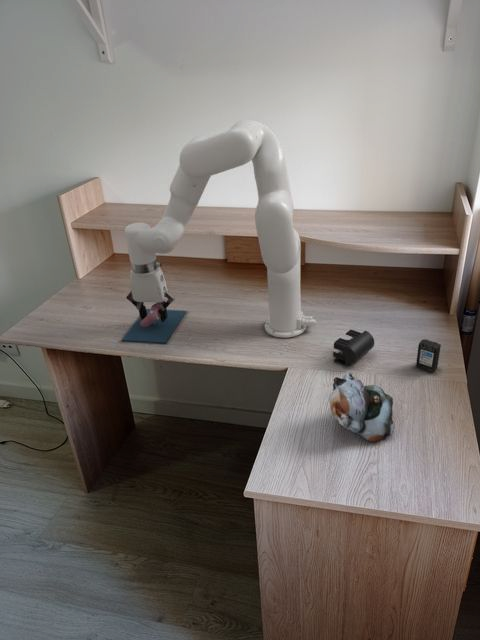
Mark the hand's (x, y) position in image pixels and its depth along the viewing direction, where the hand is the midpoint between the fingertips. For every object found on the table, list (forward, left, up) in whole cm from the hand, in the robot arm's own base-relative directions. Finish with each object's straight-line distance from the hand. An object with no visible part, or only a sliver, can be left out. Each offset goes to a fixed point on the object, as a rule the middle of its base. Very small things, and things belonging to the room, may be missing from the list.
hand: (154, 319), depth 162 cm
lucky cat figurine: (-65, +40, -3) cm, 76 cm away
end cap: (-62, +12, -3) cm, 63 cm away
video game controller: (0, 0, -1) cm, 1 cm away
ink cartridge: (-81, +15, -3) cm, 82 cm away
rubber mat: (0, 0, -3) cm, 3 cm away
